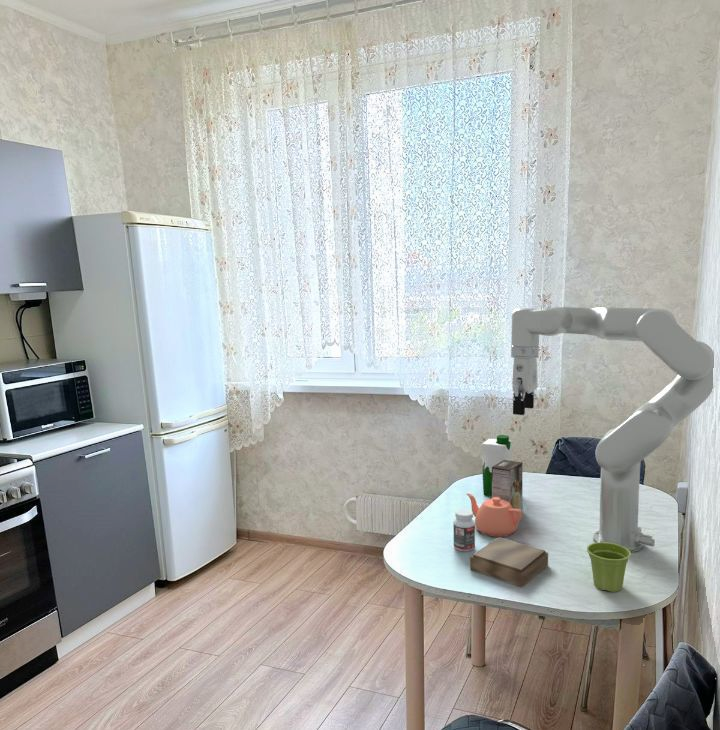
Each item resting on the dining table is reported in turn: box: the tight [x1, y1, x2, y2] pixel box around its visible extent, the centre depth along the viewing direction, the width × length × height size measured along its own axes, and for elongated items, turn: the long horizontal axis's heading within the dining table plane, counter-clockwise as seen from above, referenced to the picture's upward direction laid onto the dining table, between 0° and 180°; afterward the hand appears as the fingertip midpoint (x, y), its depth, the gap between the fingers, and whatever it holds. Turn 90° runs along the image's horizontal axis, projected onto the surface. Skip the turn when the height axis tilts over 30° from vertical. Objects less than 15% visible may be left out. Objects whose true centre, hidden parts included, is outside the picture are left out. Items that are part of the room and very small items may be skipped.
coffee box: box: [491, 460, 524, 516], centre depth 180 cm, size 9×6×16 cm
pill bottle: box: [452, 508, 476, 552], centre depth 158 cm, size 6×6×10 cm
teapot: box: [465, 493, 524, 538], centre depth 170 cm, size 12×18×10 cm
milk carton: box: [481, 434, 512, 497], centre depth 199 cm, size 9×9×20 cm
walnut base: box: [469, 537, 549, 588], centre depth 147 cm, size 14×14×4 cm
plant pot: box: [586, 542, 632, 593], centre depth 136 cm, size 9×9×9 cm
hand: (523, 411), depth 168 cm, fingers open, 9 cm apart
